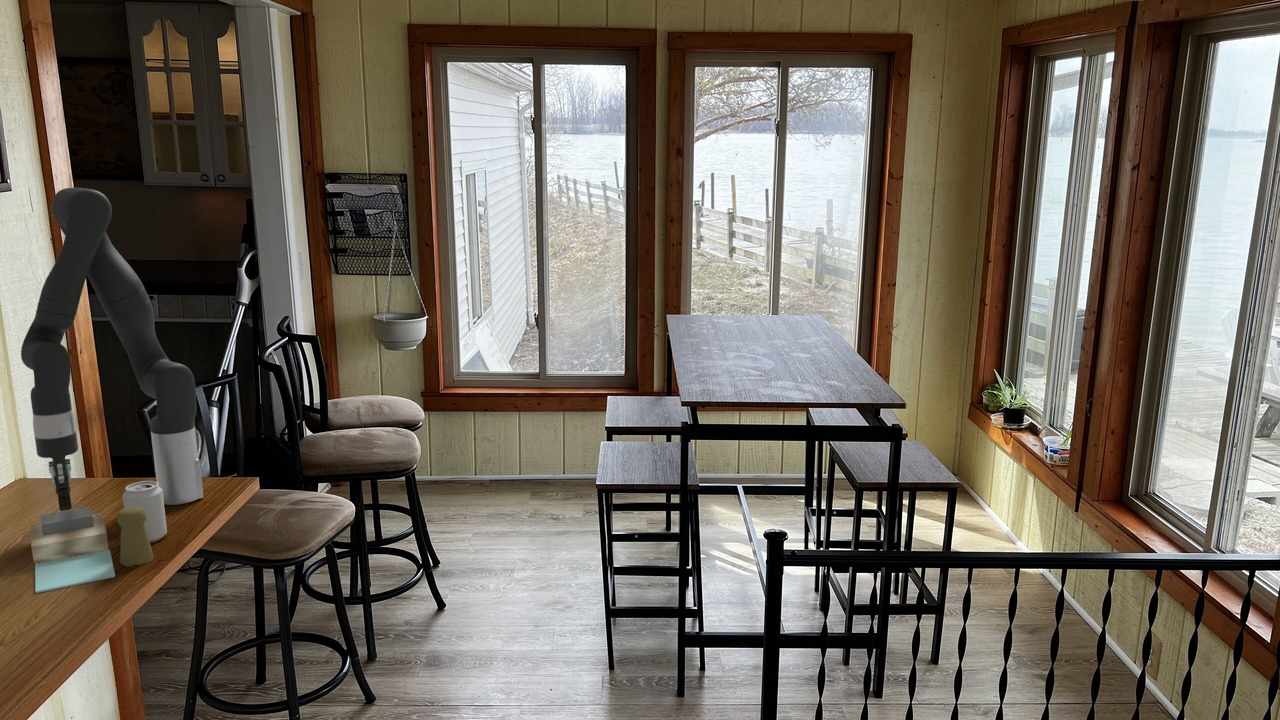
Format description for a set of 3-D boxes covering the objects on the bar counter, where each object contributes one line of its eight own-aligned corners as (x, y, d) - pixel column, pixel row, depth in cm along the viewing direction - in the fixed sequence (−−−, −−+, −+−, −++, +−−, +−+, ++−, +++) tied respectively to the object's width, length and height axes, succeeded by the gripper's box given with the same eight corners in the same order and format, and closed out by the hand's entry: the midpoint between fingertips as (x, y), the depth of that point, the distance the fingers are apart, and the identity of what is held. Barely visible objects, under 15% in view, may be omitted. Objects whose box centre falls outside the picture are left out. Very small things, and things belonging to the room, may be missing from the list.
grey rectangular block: (92, 517, 199) (90, 506, 198) (93, 526, 194) (92, 515, 193) (42, 526, 194) (40, 515, 193) (42, 535, 189) (41, 524, 189)
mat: (110, 551, 191) (109, 549, 191) (115, 576, 180) (115, 575, 180) (35, 566, 184) (35, 564, 184) (35, 593, 173) (35, 591, 173)
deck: (104, 529, 202) (102, 512, 201) (108, 550, 192) (106, 532, 191) (33, 542, 195) (31, 525, 195) (34, 565, 185) (31, 546, 184)
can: (175, 533, 200) (169, 481, 198) (147, 547, 193) (140, 493, 191) (148, 529, 203) (142, 477, 200) (119, 542, 196) (112, 488, 193)
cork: (139, 567, 184) (133, 515, 182) (112, 564, 185) (106, 513, 183) (160, 555, 190) (154, 504, 187) (134, 552, 191) (128, 502, 189)
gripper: (77, 437, 193) (87, 515, 197) (74, 422, 204) (84, 496, 208) (34, 442, 189) (45, 522, 193) (34, 427, 200) (44, 503, 204)
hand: (65, 509), depth 201 cm, fingers closed
